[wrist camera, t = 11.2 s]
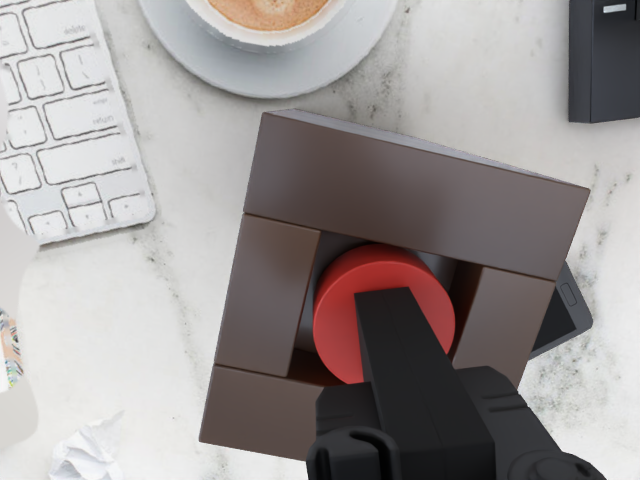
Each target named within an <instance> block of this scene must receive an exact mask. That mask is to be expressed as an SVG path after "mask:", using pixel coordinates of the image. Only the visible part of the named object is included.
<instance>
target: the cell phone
mask: <svg viewBox="0 0 640 480" xmlns="http://www.w3.org/2000/svg"><path fill="white" fill-rule="evenodd" d="M555 282H556V286H555V289H554V291H553V294H552V297H551V299H550V302H549V305H548V308H547V310H546V313H545V316H544V318H543V321H542V324H541V326H540V329H539V332H538V335H537V337H536V340H535V343H534V345H533V348H532V351H531V353H530V356H529V359H528V361H529V360H531V359H533V358H535V357H536V356H538V355H540V354H542V353H544V352H546V351H548V350H550V349H552V348H554V347H556V346H558V345H560V344H562V343H564V342H566V341H568V340H570V339H571V338H573V337H575V336H577V335H579V334H581V333H583V332H585V331H587V330H588V329H590V328H591V327H592V324H593V319H592V316H591V313H590V311H589V309H588V307H587V305H586V303H585V301H584V299H583V296H582V294H581V292H580V290H579V288H578V286H577V284H576V282H575V280H574V278H573V276H572V273H571V271H570V269H569V267H568V265H567V263H566V261H565V262H564V264H563V267H562V270H561V273H560V275H559V278H558V280H557V281H555Z"/></svg>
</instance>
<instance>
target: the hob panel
mask: <svg viewBox="0 0 640 480" xmlns="http://www.w3.org/2000/svg"><path fill="white" fill-rule="evenodd" d="M636 13H637V0H570V4H569V122H574V123H590V124H591V123H599V122H607V121H615V120H623V119H631V118H639V117H640V20H636Z"/></svg>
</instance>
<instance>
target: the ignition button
mask: <svg viewBox="0 0 640 480" xmlns="http://www.w3.org/2000/svg"><path fill="white" fill-rule="evenodd" d="M408 286H409V288H410V290H411V292H412V293H413V295H414V297H415V299H416V301H417V302H418V304H419V306H420V308H421V310H422V311H423V313H424V315H425V317H426V319H427V320H428V322H429V324H430V326H431V328H432V329H433V331H434V333H435V335H436V337H437V338H438V340H439V342H440V344H441V346H442V347H443V349H444V351H445V353H446V355H447V353H448V352H449V349H450V347H451V344H452V341H453V337H454V332H455V314H454V309H453V306H452V303H451V300H450V298H449V296H448V294H447V292H446V291H445V289H444V288H443V286H442V285H441V283H440V282H439V281H438V279H437V278H436V277H435V275H434V274H433V273H432V271H431V270H430V269H429V267H428V266H427V265H426V264H425V263H424V262H423V261H422V260H421V259H420V258H419V257H417V256H416V255H415V254H413V253H411V252H410V251H408V250H405V249H403V248H400V247H397V246H393V245H387V244H370V245H365V246H360V247H357V248H354V249H352V250H349V251H348V252H346V253H344V254H342V255H341V256H339V257H338V258H336V259H335V260H334V261H333V262H332V263H331V264H330V265H329V266H328V267H327V268H326V269H325V271H324V272H323V274H322V275H321V277H320V279H319V281H318V283H317V285H316V288H315V291H314V296H313V338H314V343H315V347H316V349H317V352H318V354H319V356H320V358H321V360H322V361H323V363H324V364H325V366H326V367H327V368H328V369H329V370H330V371H331V372H332V373H333V374H334V375H335V376H336V377H338V378H339V379H340V380H342V381H343V382H345V383H347V384H352V383H360V382H364V380H363V371H362V362H361V354H360V345H359V336H358V327H357V318H356V309H355V300H354V293H359V292H367V291H375V290H384V289H392V288H400V287H408Z"/></svg>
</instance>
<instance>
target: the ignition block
mask: <svg viewBox="0 0 640 480" xmlns="http://www.w3.org/2000/svg"><path fill="white" fill-rule="evenodd" d="M590 191H591V190H590V189H589V188H585V187H582V186H579V185H575V184H572V183H568V182H565V181H562V180H558V179H554V178H551V177H548V176H544V175H541V174H538V173H534V172H531V171H527V170H524V169H521V168H517V167H514V166H510V165H507V164H504V163H500V162H497V161H493V160H490V159H487V158H483V157H480V156H476V155H473V154H469V153H466V152H463V151H459V150H456V149H452V148H449V147H446V146H442V145H439V144H435V143H432V142H429V141H425V140H422V139H418V138H415V137H411V136H407V135H403V134H399V133H394V132H390V131H386V130H382V129H378V128H373V127H369V126H365V125H361V124H357V123H352V122H348V121H344V120H340V119H336V118H331V117H327V116H323V115H319V114H314V113H310V112H306V111H302V110H298V109H288V110H279V111H270V112H263V113H262V117H261V122H260V127H259V132H258V137H257V142H256V147H255V152H254V158H253V163H252V168H251V173H250V178H249V183H248V188H247V193H246V198H245V204H244V209H243V212H244V213H243V215H242V219H241V224H240V230H239V235H238V240H237V245H236V250H235V255H234V260H233V265H232V270H231V276H230V281H229V286H228V291H227V296H226V301H225V306H224V311H223V316H222V322H221V327H220V332H219V337H218V342H217V347H216V352H215V357H214V364H213V367H212V373H211V378H210V383H209V388H208V393H207V398H206V403H205V408H204V414H203V419H202V424H201V429H200V434H199V442H202V443H208V444H213V445H219V446H224V447H229V448H235V449H240V450H246V451H251V452H257V453H262V454H267V455H273V456H278V457H284V458H289V459H295V460H300V461H306V457H307V454H308V450H309V448H310V447H311V446H312V444H313V443H314V442H315V441H316V406H315V401H316V400H317V398H318V397H319V395H320V394H321V392H322V390H323V389H324V387H327V386H335V385H344V384H347V383H345V382H343V381H342V380H340V379H339V378H338V377H336V376H335V375H334V374H333V373H332V372H331V371H330V370H329V369H328V368H327V367H326V366H325V364H324V363H323V361H322V360H321V358H320V356H319V354H318V352H317V349H316V347H315V343H314V338H313V296H314V291H315V288H316V285H317V283H318V281H319V279H320V277H321V275H322V274H323V272H324V271H325V269H326V268H327V267H328V266H329V265H330V264H331V263H332V262H333V261H334V260H335V259H336V258H338V257H339V256H341V255H342V254H344V253H346V252H348V251H349V250H352V249H354V248H357V247H360V246H365V245H370V244H387V245H393V246H397V247H400V248H403V249H405V250H408V251H410V252H411V253H413V254H415V255H416V256H417V257H419V258H420V259H421V260H422V261H423V262H424V263H425V264H426V265H427V266H428V267H429V269H430V270H431V271H432V273H433V274H434V275H435V277H436V278H437V279H438V281H439V282H440V283H441V285H442V286H443V288H444V289H445V291H446V292H447V294H448V296H449V298H450V300H451V303H452V306H453V309H454V314H455V332H454V337H453V341H452V344H451V347H450V349H449V352H448V353H447V356H448V358H449V360H450V362H451V364H452V366H453V367H454V369H463V368H471V367H479V366H490V367H492V368H493V369H495V370H497V371H498V372H500V373H502V374H503V375H505V376H507V377H508V379H509V380H510V381H511V383H512V384H513V385H514V387H515V388H516V389H518V386H519V383H520V381H521V378H522V375H523V372H524V370H525V367H526V364H527V362H528V359H529V356H530V353H531V351H532V348H533V345H534V343H535V340H536V337H537V335H538V332H539V329H540V326H541V324H542V321H543V318H544V316H545V313H546V310H547V308H548V305H549V302H550V299H551V297H552V294H553V291H554V289H555V286H556V282H555V281H557V280H558V278H559V275H560V273H561V270H562V267H563V264H564V262H565V259H566V256H567V254H568V251H569V248H570V246H571V243H572V240H573V237H574V235H575V232H576V229H577V227H578V224H579V221H580V219H581V216H582V213H583V210H584V208H585V205H586V202H587V200H588V197H589V194H590Z"/></svg>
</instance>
